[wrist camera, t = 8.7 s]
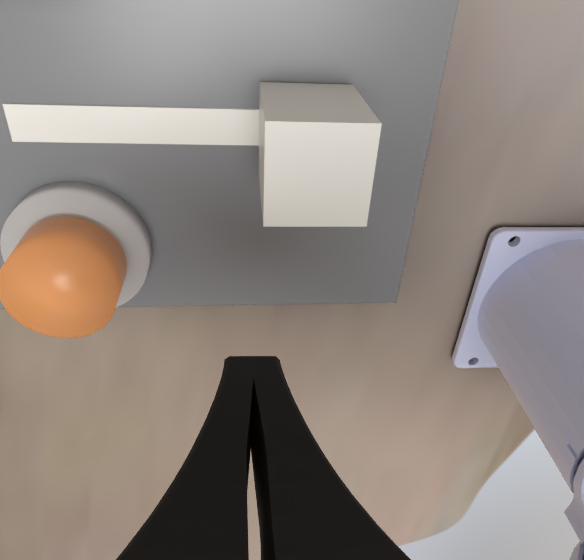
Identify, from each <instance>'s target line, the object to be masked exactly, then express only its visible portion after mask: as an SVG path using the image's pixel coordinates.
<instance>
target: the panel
mask: <svg viewBox="0 0 584 560" xmlns="http://www.w3.org/2000/svg"><path fill="white" fill-rule="evenodd" d="M457 4H458V0H0V269H1V267H2V266H3V264H4V263H5V261H6V260H7V258H8V257H9V256H10V254H11V253H12V251H13V250H14V248H15V247H16V246H17V244H18V243H19V241H20V240H21V238H22V237H23V236H24V234H25V233H26V232H27V230H28V229H29V228H31V227H32V226H33V225H34V224H36V223H38V222H40V221H42V220H44V219H48V218H52V217H60V216H67V217H76V218H80V219H84V220H87V221H90V222H92V223H94V224H96V225H98V226H100V227H101V228H103V229H105V230H106V231H107V232H108V233H110V234H111V235H112V236H113V237H114V238H115V239H116V240H117V242H118V243H119V244H120V246H121V248H122V250H123V252H124V254H125V257H126V261H127V273H126V277H125V280H124V283H123V286H122V290H121V293H120V296H119V299H118V302H117V305H116V307H148V306H213V305H277V304H342V303H396V302H397V297H398V292H399V287H400V282H401V277H402V272H403V267H404V263H405V258H406V253H407V248H408V243H409V238H410V233H411V228H412V224H413V219H414V214H415V209H416V204H417V199H418V194H419V189H420V185H421V180H422V175H423V170H424V165H425V160H426V155H427V151H428V146H429V141H430V136H431V131H432V126H433V121H434V116H435V112H436V107H437V102H438V97H439V92H440V87H441V82H442V77H443V73H444V68H445V63H446V58H447V53H448V48H449V43H450V38H451V34H452V29H453V24H454V19H455V14H456V9H457ZM260 82H279V83H314V84H350V85H354V87H355V88H356V89H357V91H358V92H359V94H360V95H361V96H362V98H363V99H364V100H365V102H366V103H367V104H368V106H369V107H370V108H371V110H372V111H373V112H374V114H375V115H376V116H377V118H378V119H379V120H380V122H381V123H382V126H381V132H380V139H379V146H378V153H377V159H376V166H375V173H374V180H373V186H372V193H371V200H370V207H369V213H368V220H367V227H263V218H262V206H261V194H260V182H259V85H260ZM0 309H5V308H4V306H3V304H2V303H1V301H0Z"/></svg>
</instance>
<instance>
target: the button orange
mask: <svg viewBox="0 0 584 560" xmlns="http://www.w3.org/2000/svg"><path fill="white" fill-rule="evenodd" d="M126 273H127V261H126V257H125V254H124V252H123V250H122V248H121V246H120V244H119V243H118V242H117V240H116V239H115V238H114V237H113V236H112V235H111V234H110V233H108V232H107V231H106V230H105V229H103V228H101V227H100V226H98V225H96V224H94V223H92V222H90V221H87V220H84V219H80V218H76V217H67V216H60V217H52V218H48V219H44V220H42V221H40V222H38V223H36V224H34V225H33V226H32V227H31V228H29V229H28V230H27V232H26V233H25V234H24V236H23V237H22V238H21V240H20V241H19V243H18V244H17V246H16V247H15V248H14V250H13V251H12V253H11V254H10V256H9V257H8V258H7V260H6V261H5V263H4V264H3V266H2V267H1V269H0V301H1V303H2V304H3V306H4V308H5V309H6V310H7V312H8V313H9V314H10V315H11V316H12V317H13V318H14V319H15V320H17V321H18V322H19V323H21V324H22V325H24V326H25V327H27V328H29V329H31V330H33V331H35V332H38V333H40V334H44V335H47V336H52V337H58V338H77V337H83V336H86V335H90V334H92V333H94V332H96V331H98V330H100V329H101V328H102V327H104V326H105V325H106V324H107V323H108V322H109V321H110V319H111V318H112V316H113V314H114V311H115V308H116V305H117V302H118V299H119V296H120V293H121V290H122V286H123V283H124V280H125V277H126Z"/></svg>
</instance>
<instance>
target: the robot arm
mask: <svg viewBox="0 0 584 560" xmlns="http://www.w3.org/2000/svg"><path fill="white" fill-rule="evenodd" d="M514 236H516V238H515V239H514V240H513V241H512V242H508V241H509V240H510V239H511V238H512V237H514ZM471 358H473V359H471ZM470 359H471V360H470ZM452 361H453V363H454V365H455V366H456V367H457V368H485V367H498V368H499V370H500V371H501V373H502V375H503V376H504V378H505V380H506V381H507V383H508V385H509V386H510V388H511V390H512V391H513V393H514V395H515V397H516V398H517V400H518V402H519V403H520V405H521V407H522V408H523V410H524V412H525V413H526V415H527V417H528V418H529V420H530V422H531V423H532V425H533V427H534V428H535V430H536V432H537V433H538V435H539V437H540V438H541V440H542V442H543V444H544V445H545V447H546V449H547V450H548V452H549V453H550V455H551V457H552V459H553V460H554V462H555V463H556V465H557V467H558V469H559V470H560V472H561V474H562V476H563V477H564V479H565V481H566V482H567V484H568V486H569V487H570V489H571V491H572V492H573V493H574V498H573V501H572V502H571V504H570V505H569V507H568V508H567V509H566V510H565V512H564V513H565V514H566V516H567V518H568V520H569V522H570V523H571V525H572V527H573V529H574V530H575V532H576V534H577V536H578V538H579V539H580V542H579V543H578V544H577V546H576V547H575V548H574V550H573V553H572V555H571V558H570V560H584V227H502V228H498V229H496V230H494V231H493V232H492V233H491V234H490V236H489V238H488V241H487V245H486V248H485V251H484V254H483V258H482V261H481V264H480V267H479V271H478V274H477V277H476V280H475V284H474V287H473V290H472V294H471V297H470V300H469V303H468V307H467V310H466V313H465V316H464V320H463V323H462V326H461V329H460V333H459V336H458V339H457V342H456V346H455V349H454V352H453V356H452ZM250 450H251V453H252V462H253V472H254V481H255V490H256V499H257V508H258V517H259V526H260V541H261V560H411V559H410V558H409V557H408V556H406V555H405V553H404V552H403V551H402V550H401V549H400V548H399V547H398V546H397V545H396V544H395V543H394V542H393V541H392V540H391V539H390V538H389V537H388V536H387V535H386V534H385V532H384V531H383V530H382V529H381V528H380V527H379V526H378V525H377V524H376V522H375V521H374V520H373V519H372V518H371V516H370V515H369V514H368V513H367V512H366V510H365V509H364V508H363V507H362V506H361V504H360V503H359V502H358V501H357V500H356V499H355V497H354V496H353V495H352V494H351V492H350V491H349V489H348V488H347V487H346V485H345V484H344V483H343V481H342V480H341V479H340V477H339V476H338V474H337V473H336V472H335V470H334V469H333V467H332V466H331V464H330V463H329V461H328V460H327V458H326V457H325V455H324V454H323V452H322V450H321V449H320V447H319V445H318V444H317V442H316V440H315V439H314V437H313V435H312V434H311V432H310V430H309V428H308V426H307V425H306V423H305V421H304V419H303V417H302V415H301V413H300V411H299V409H298V407H297V405H296V403H295V401H294V398H293V396H292V394H291V392H290V389H289V387H288V385H287V382H286V379H285V377H284V374H283V371H282V368H281V364H280V360H279V359H278V358H277V357H276V356H230V357H228V358H227V359H225V362H224V369H223V373H222V377H221V381H220V384H219V387H218V390H217V393H216V396H215V398H214V401H213V403H212V406H211V408H210V411H209V413H208V415H207V418H206V420H205V422H204V425H203V427H202V429H201V431H200V433H199V435H198V437H197V439H196V441H195V443H194V445H193V447H192V449H191V451H190V453H189V455H188V456H187V458H186V460H185V462H184V464H183V465H182V467H181V469H180V470H179V472H178V474H177V475H176V477H175V479H174V480H173V482H172V484H171V485H170V487H169V488H168V490H167V491H166V493H165V494H164V496H163V497H162V499H161V501H160V502H159V504H158V505H157V506H156V508H155V509H154V511H153V512H152V514H151V515H150V516H149V518H148V519H147V520H146V522H145V523H144V524H143V526H142V527H141V528H140V530H139V531H138V532H137V534H136V535H135V536H134V538H133V539H132V540H131V542H130V543H129V544H128V545H127V547H126V548H125V549H124V551H123V552H122V553H121V554H120V555H119V557H118V558H117V559H116V560H249V559H248V520H247V486H248V474H249V462H250Z"/></svg>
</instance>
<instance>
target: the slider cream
mask: <svg viewBox="0 0 584 560" xmlns="http://www.w3.org/2000/svg"><path fill="white" fill-rule="evenodd" d="M381 126H382V123H381V122H380V120H379V119H378V118H377V116H376V115H375V114H374V112H373V111H372V110H371V108H370V107H369V106H368V104H367V103H366V102H365V100H364V99H363V98H362V96H361V95H360V94H359V92H358V91H357V89H356V88H355V87H354V85H350V84H314V83H279V82H260V85H259V182H260V194H261V206H262V218H263V227H367V220H368V213H369V207H370V200H371V193H372V186H373V180H374V173H375V166H376V159H377V153H378V146H379V139H380V132H381Z"/></svg>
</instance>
